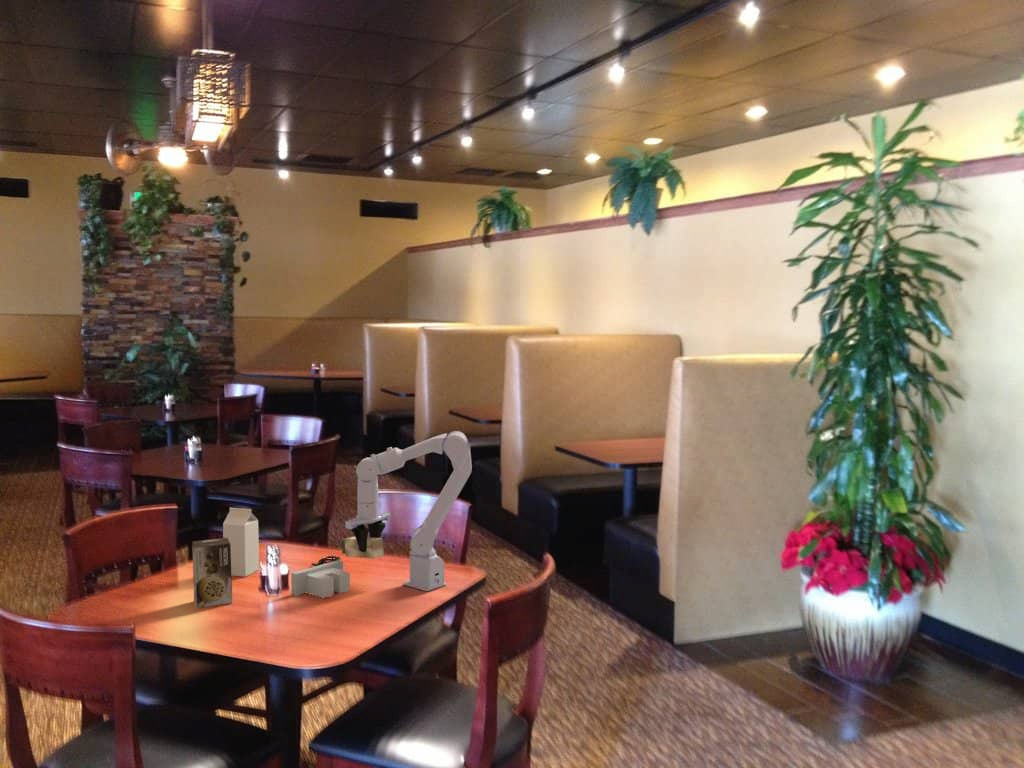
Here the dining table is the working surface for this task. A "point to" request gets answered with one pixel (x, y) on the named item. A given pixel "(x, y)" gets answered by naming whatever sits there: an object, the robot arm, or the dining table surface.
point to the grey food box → (212, 572)
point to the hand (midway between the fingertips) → (368, 549)
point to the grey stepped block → (321, 580)
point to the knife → (326, 559)
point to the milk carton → (242, 541)
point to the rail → (371, 552)
